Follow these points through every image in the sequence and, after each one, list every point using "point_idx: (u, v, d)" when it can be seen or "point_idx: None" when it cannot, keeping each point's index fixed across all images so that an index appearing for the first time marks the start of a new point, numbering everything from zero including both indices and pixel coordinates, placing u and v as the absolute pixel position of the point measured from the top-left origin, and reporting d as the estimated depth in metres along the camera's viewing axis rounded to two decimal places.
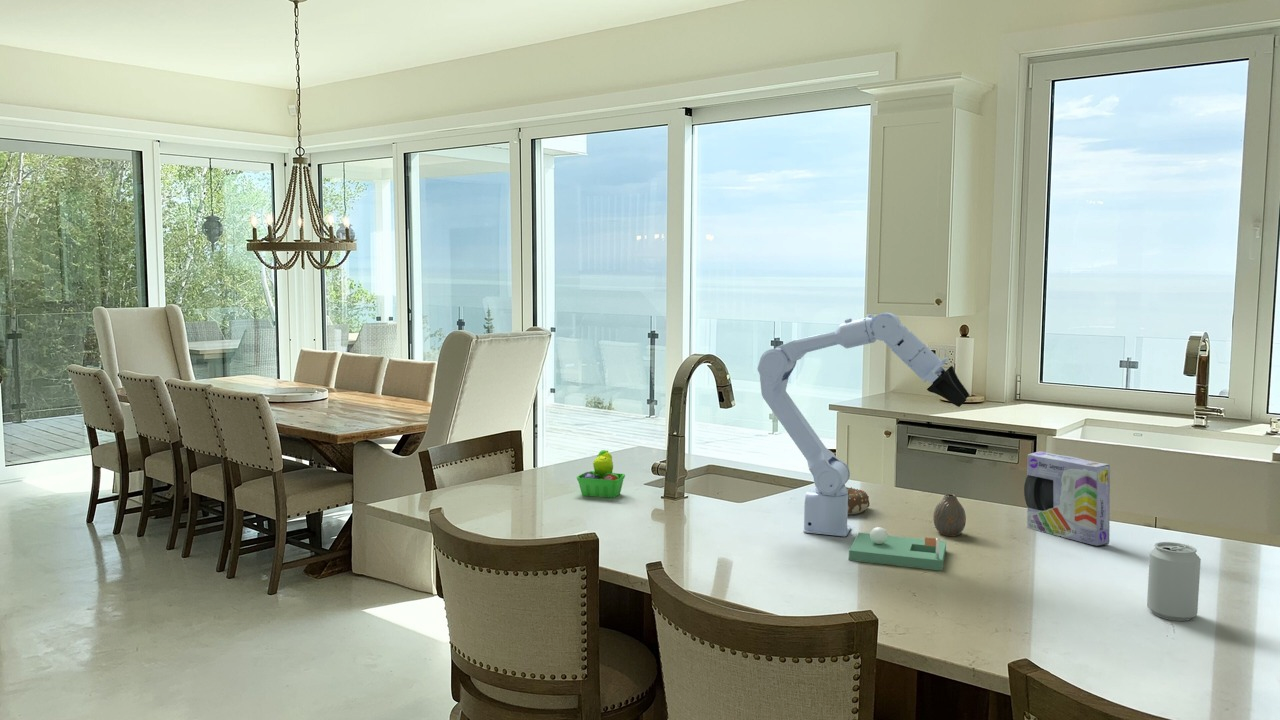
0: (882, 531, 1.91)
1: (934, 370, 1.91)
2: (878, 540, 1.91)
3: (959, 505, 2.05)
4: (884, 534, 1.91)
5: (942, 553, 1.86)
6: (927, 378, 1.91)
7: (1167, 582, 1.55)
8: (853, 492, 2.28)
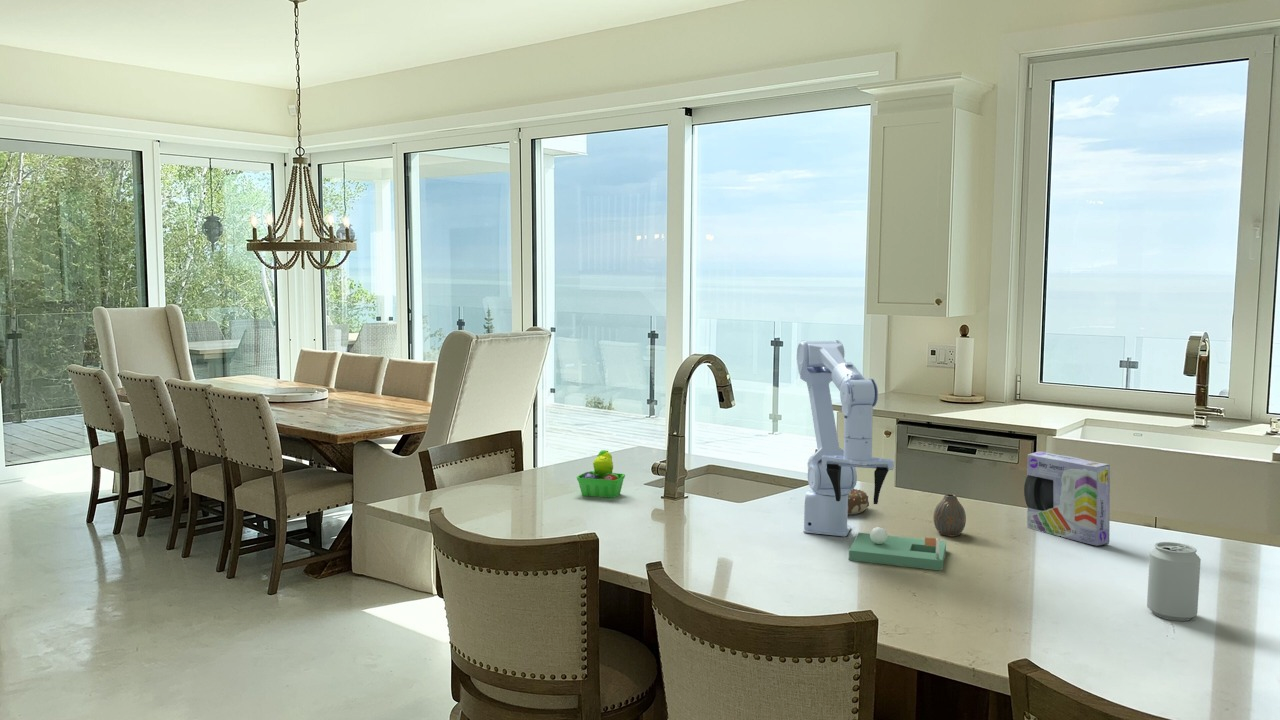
0: (882, 531, 1.91)
1: (829, 459, 1.93)
2: (878, 540, 1.91)
3: (959, 505, 2.05)
4: (884, 534, 1.91)
5: (942, 553, 1.86)
6: None
7: (1167, 582, 1.55)
8: (852, 492, 2.28)
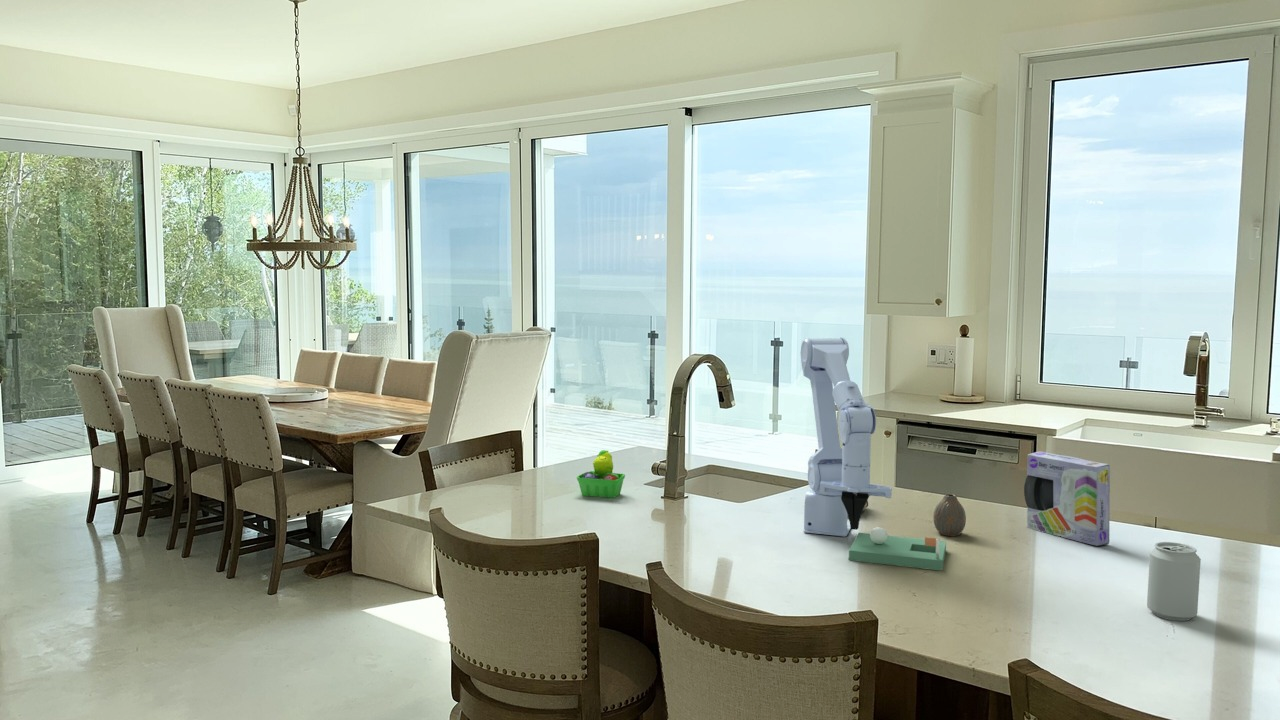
0: (882, 531, 1.91)
1: (827, 485, 1.94)
2: (878, 540, 1.91)
3: (959, 505, 2.05)
4: (884, 534, 1.91)
5: (942, 553, 1.86)
6: None
7: (1167, 582, 1.55)
8: None
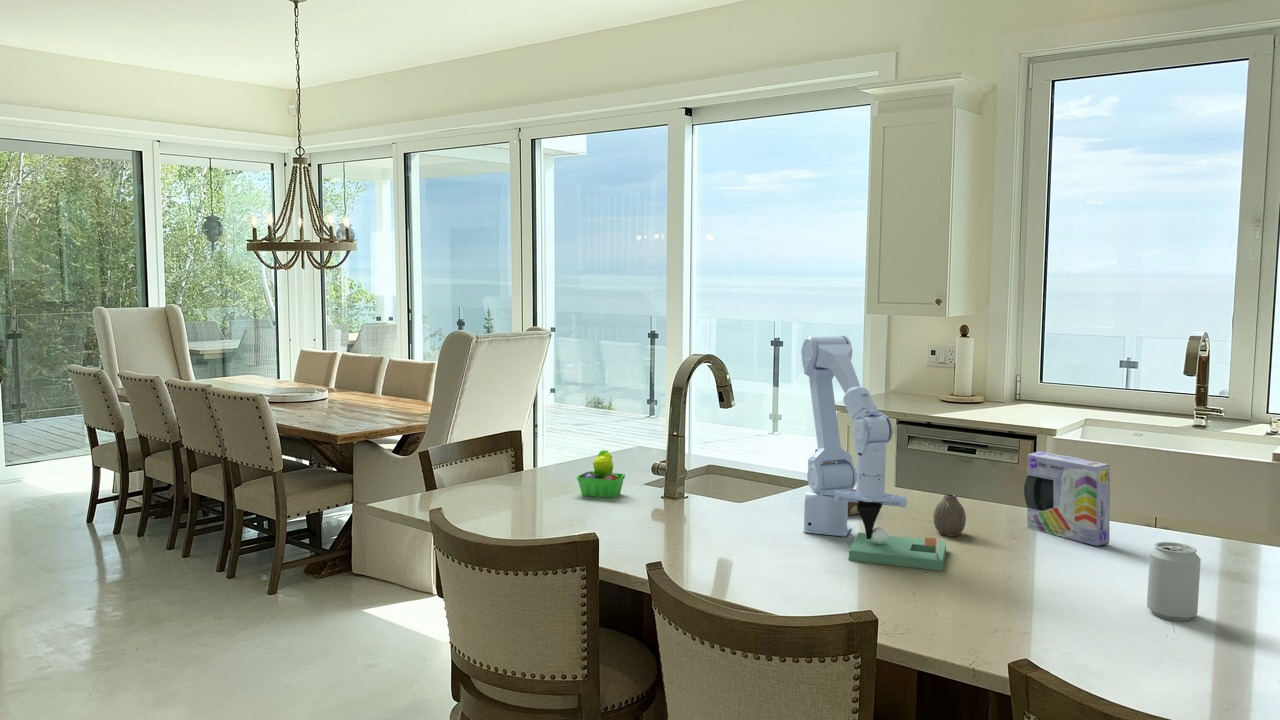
0: (884, 532, 1.91)
1: (841, 495, 1.93)
2: (878, 541, 1.91)
3: (959, 505, 2.05)
4: (885, 535, 1.90)
5: (942, 553, 1.86)
6: None
7: (1167, 582, 1.55)
8: None
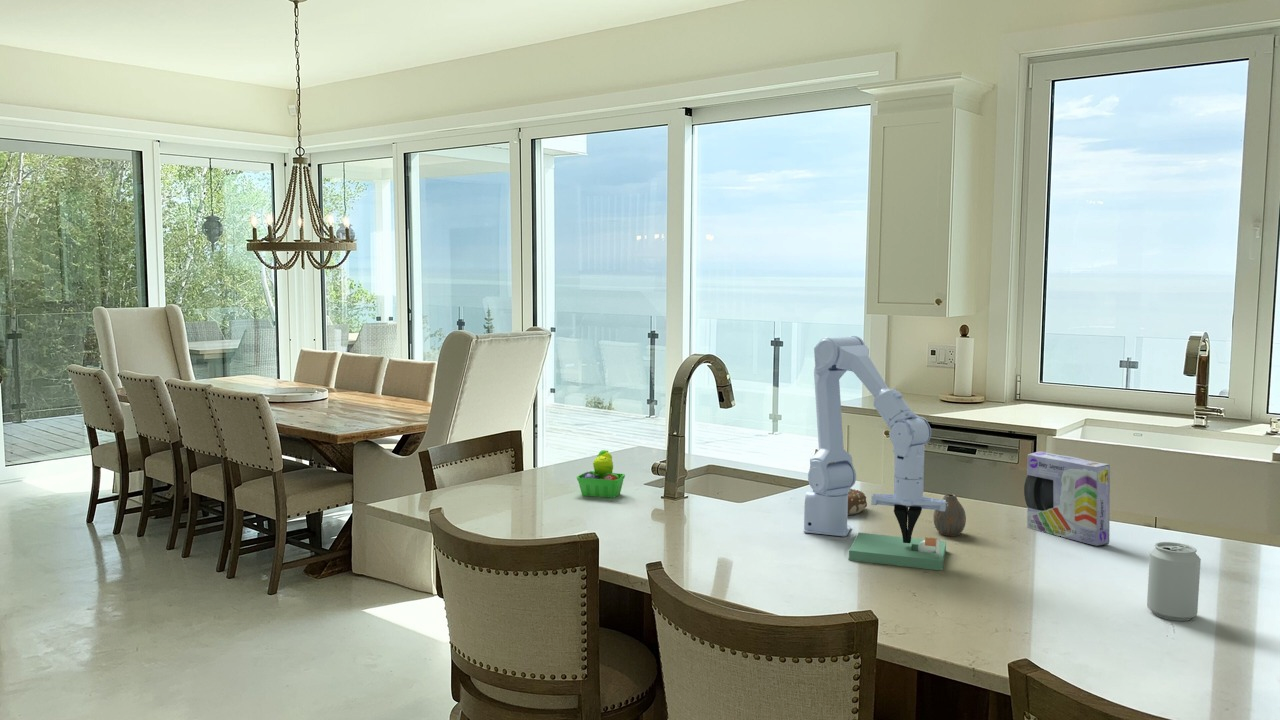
0: None
1: (879, 498, 1.90)
2: (929, 552, 1.87)
3: (959, 505, 2.05)
4: None
5: (942, 553, 1.86)
6: None
7: (1167, 582, 1.55)
8: (850, 492, 2.27)
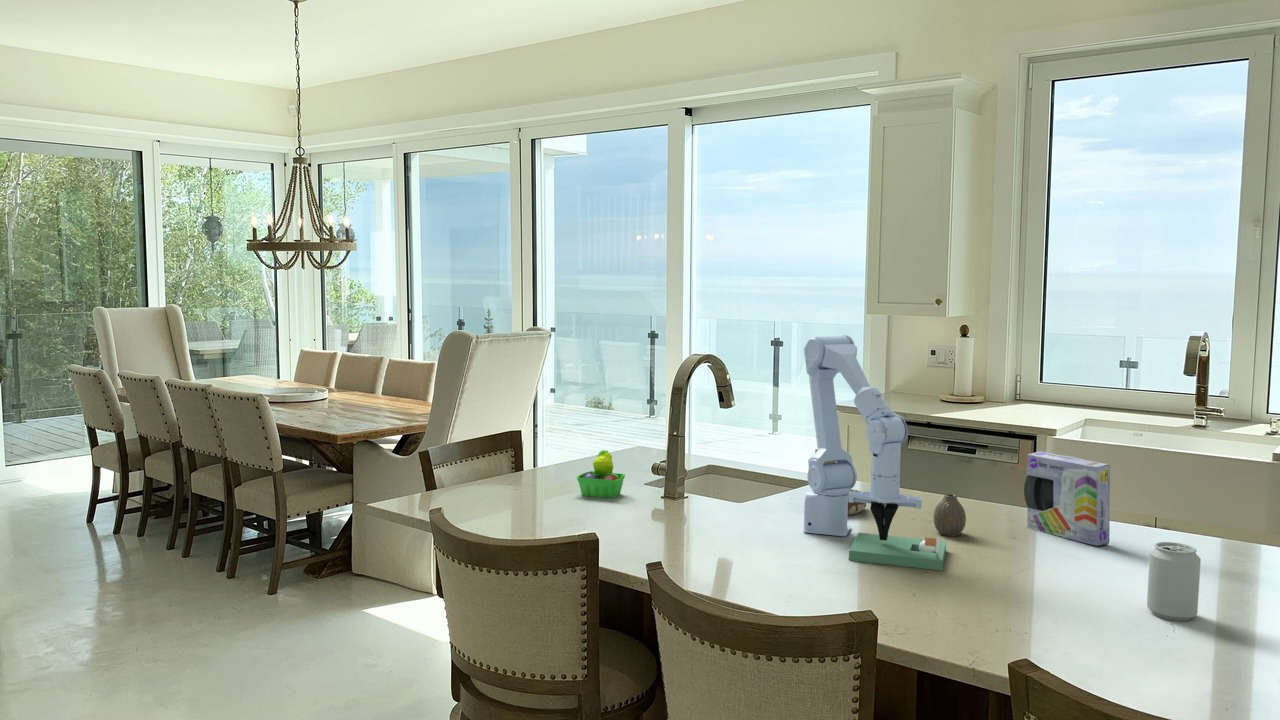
0: None
1: (856, 496, 1.92)
2: (930, 552, 1.87)
3: (959, 505, 2.05)
4: None
5: (942, 553, 1.86)
6: None
7: (1167, 582, 1.55)
8: None
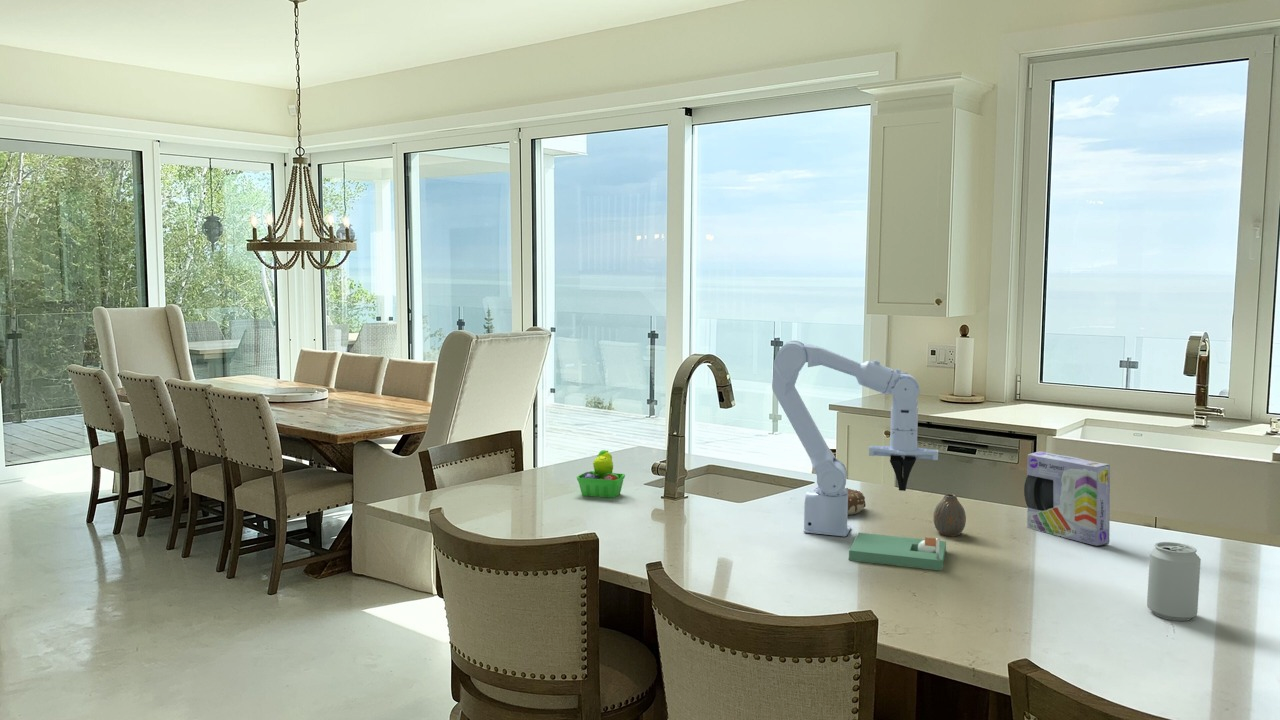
0: None
1: (876, 449, 2.04)
2: (929, 551, 1.87)
3: (959, 505, 2.05)
4: None
5: (942, 553, 1.86)
6: None
7: (1167, 582, 1.55)
8: (849, 493, 2.27)
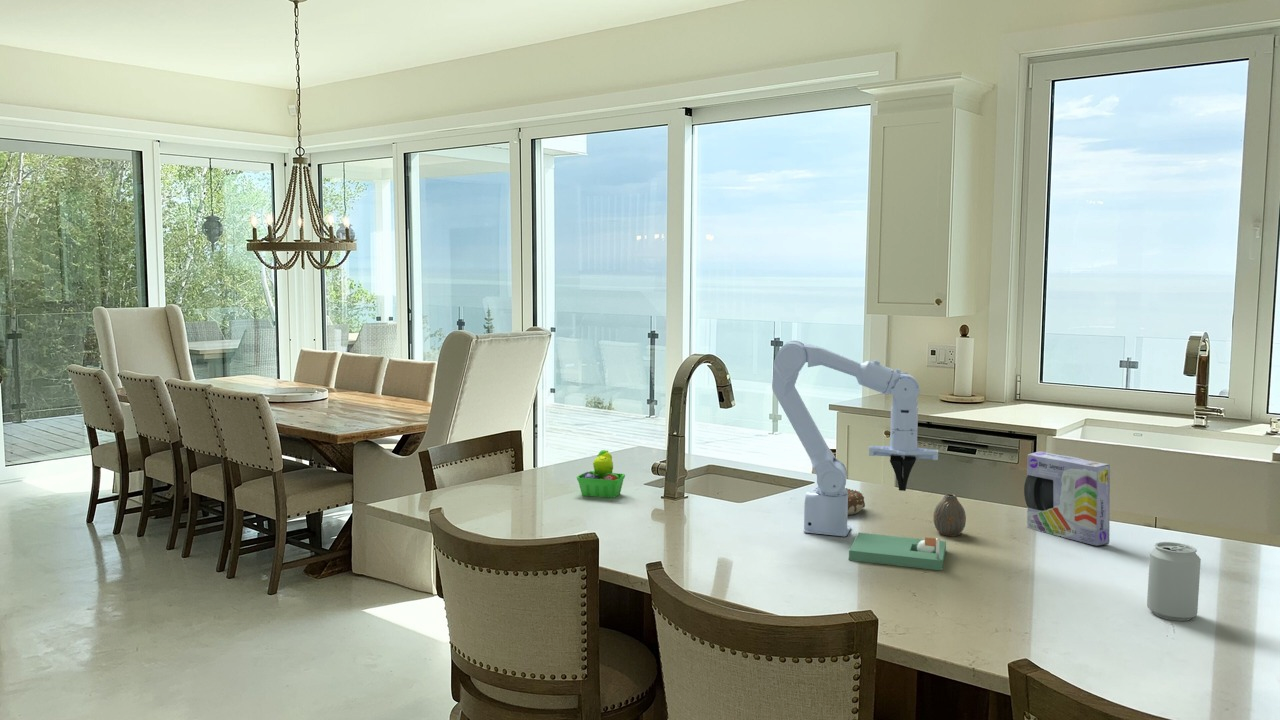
0: (923, 542, 1.88)
1: (876, 449, 2.04)
2: (928, 551, 1.87)
3: (959, 505, 2.05)
4: None
5: (942, 553, 1.86)
6: None
7: (1167, 582, 1.55)
8: (848, 493, 2.27)
